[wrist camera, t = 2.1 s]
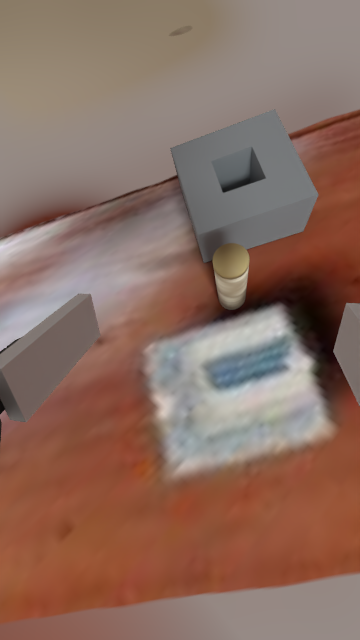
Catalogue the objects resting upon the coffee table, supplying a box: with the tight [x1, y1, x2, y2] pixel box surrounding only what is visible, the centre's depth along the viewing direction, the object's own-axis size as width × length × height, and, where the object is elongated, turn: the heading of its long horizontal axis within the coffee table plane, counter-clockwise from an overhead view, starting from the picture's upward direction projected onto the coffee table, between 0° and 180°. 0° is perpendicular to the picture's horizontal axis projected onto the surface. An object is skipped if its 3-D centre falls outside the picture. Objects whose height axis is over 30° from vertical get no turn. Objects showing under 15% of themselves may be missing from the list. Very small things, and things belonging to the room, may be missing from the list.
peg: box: [213, 243, 249, 310], centre depth 36 cm, size 4×4×12 cm
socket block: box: [171, 109, 318, 263], centre depth 41 cm, size 16×16×8 cm
